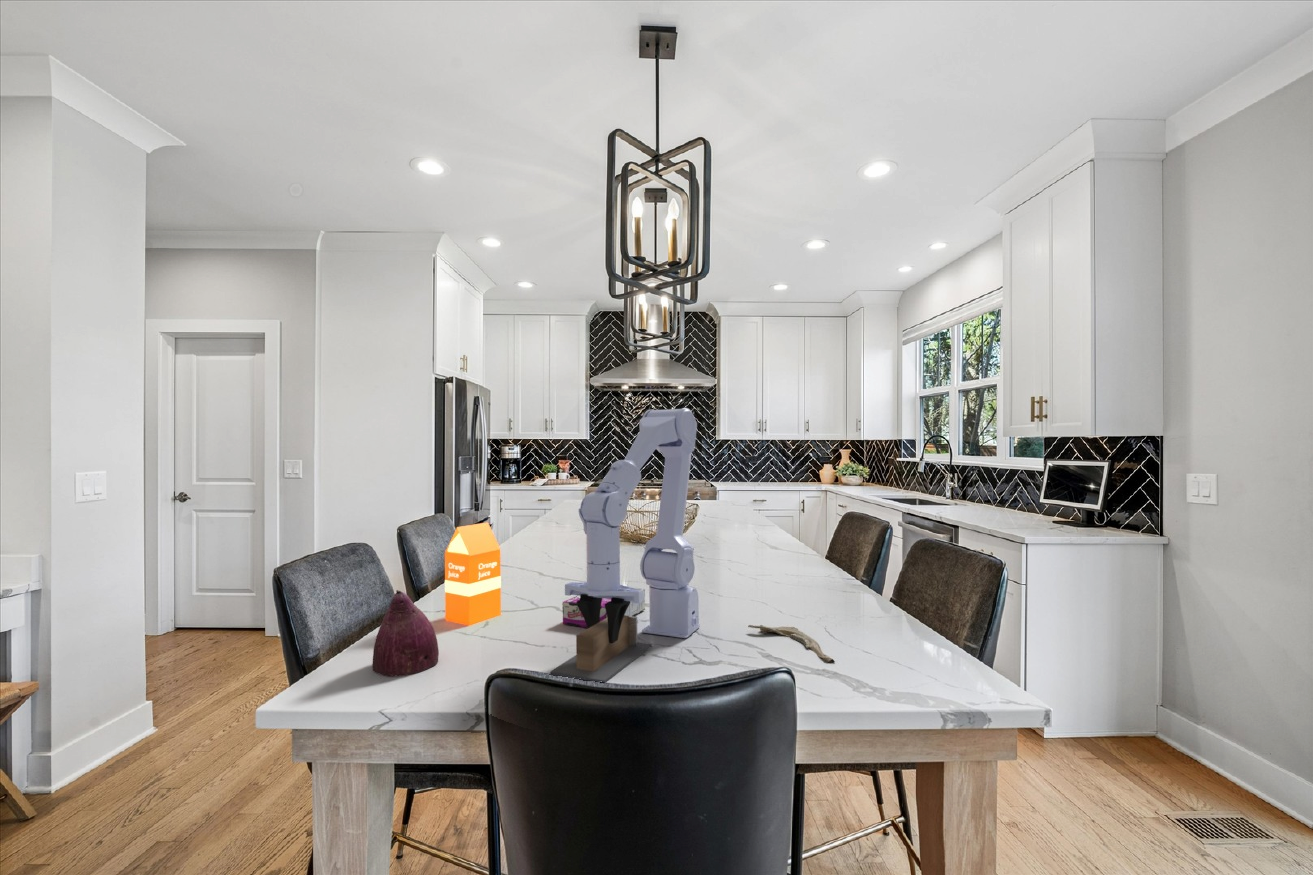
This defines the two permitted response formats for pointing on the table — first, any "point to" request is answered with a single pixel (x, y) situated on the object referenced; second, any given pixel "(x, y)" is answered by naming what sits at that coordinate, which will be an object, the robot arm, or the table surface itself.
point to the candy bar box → (576, 618)
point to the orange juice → (472, 575)
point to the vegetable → (404, 640)
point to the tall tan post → (603, 643)
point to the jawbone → (796, 638)
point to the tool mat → (605, 670)
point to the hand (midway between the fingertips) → (603, 639)
